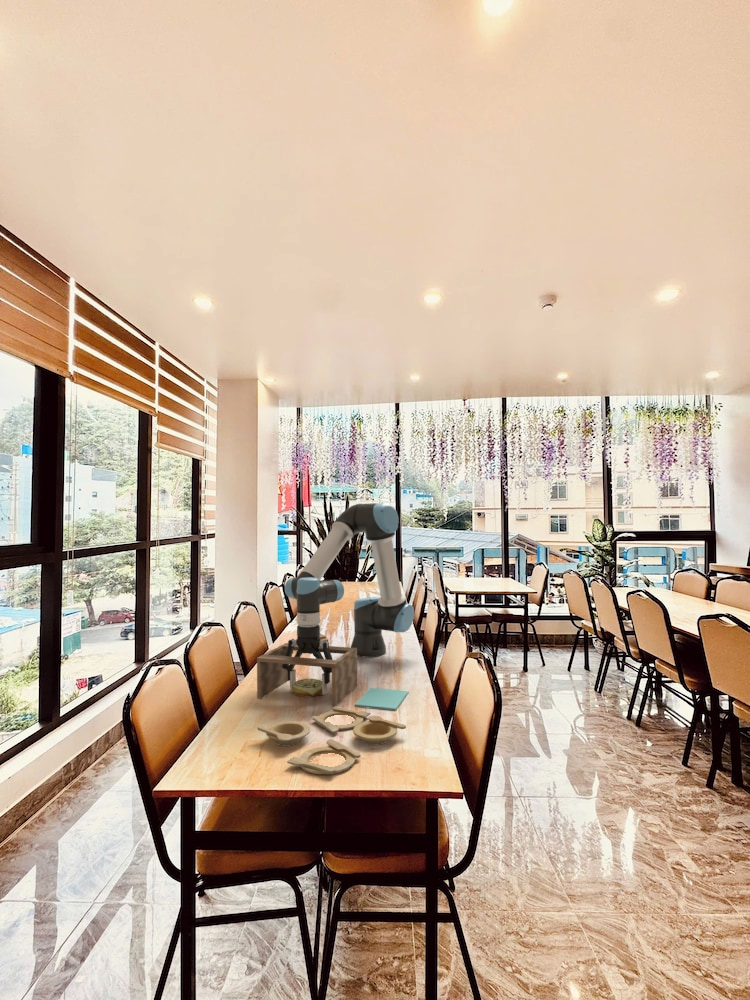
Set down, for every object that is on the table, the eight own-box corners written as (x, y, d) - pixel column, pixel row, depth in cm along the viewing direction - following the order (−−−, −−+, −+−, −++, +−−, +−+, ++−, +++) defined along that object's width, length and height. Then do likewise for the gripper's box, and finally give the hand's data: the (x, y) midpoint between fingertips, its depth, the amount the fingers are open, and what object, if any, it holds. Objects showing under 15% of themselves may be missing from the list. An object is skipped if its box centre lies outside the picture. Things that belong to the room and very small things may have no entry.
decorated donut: (316, 700, 166) (316, 688, 166) (286, 696, 170) (286, 684, 170) (330, 689, 176) (330, 678, 176) (301, 686, 179) (301, 675, 180)
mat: (370, 689, 175) (370, 687, 175) (408, 693, 171) (408, 691, 171) (354, 706, 160) (354, 704, 160) (396, 710, 156) (395, 708, 156)
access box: (285, 679, 186) (285, 643, 187) (357, 686, 178) (356, 647, 179) (257, 698, 167) (257, 657, 168) (335, 706, 159) (335, 663, 160)
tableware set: (319, 787, 113) (319, 768, 113) (243, 747, 133) (243, 731, 133) (419, 736, 139) (419, 720, 139) (343, 709, 159) (343, 695, 159)
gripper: (271, 625, 173) (271, 692, 173) (336, 628, 166) (337, 698, 166) (282, 620, 180) (282, 685, 180) (345, 624, 174) (345, 691, 173)
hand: (308, 691), depth 173 cm, fingers open, 11 cm apart
